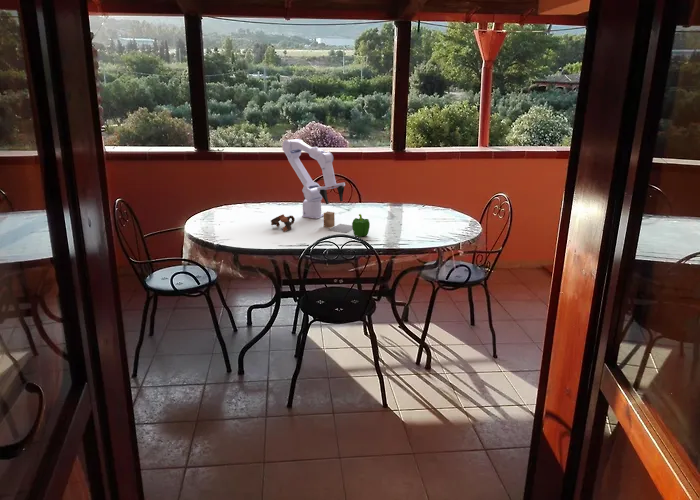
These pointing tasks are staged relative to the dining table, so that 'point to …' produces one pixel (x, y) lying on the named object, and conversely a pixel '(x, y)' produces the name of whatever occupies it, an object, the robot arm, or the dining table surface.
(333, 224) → the walnut block
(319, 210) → the robot arm
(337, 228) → the slate mat
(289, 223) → the brown irregular piece
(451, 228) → the dining table surface
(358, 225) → the bell pepper
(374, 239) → the dining table surface
